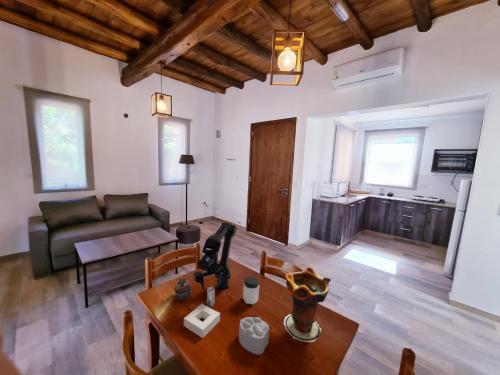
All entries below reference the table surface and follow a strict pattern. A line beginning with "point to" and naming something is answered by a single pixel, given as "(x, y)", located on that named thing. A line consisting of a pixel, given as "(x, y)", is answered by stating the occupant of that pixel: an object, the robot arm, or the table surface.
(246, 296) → the jar
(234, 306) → the table surface
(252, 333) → the lumpy-topped squat cylinder
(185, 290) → the cupcake
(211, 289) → the peg
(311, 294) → the decorative vase
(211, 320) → the socket block
